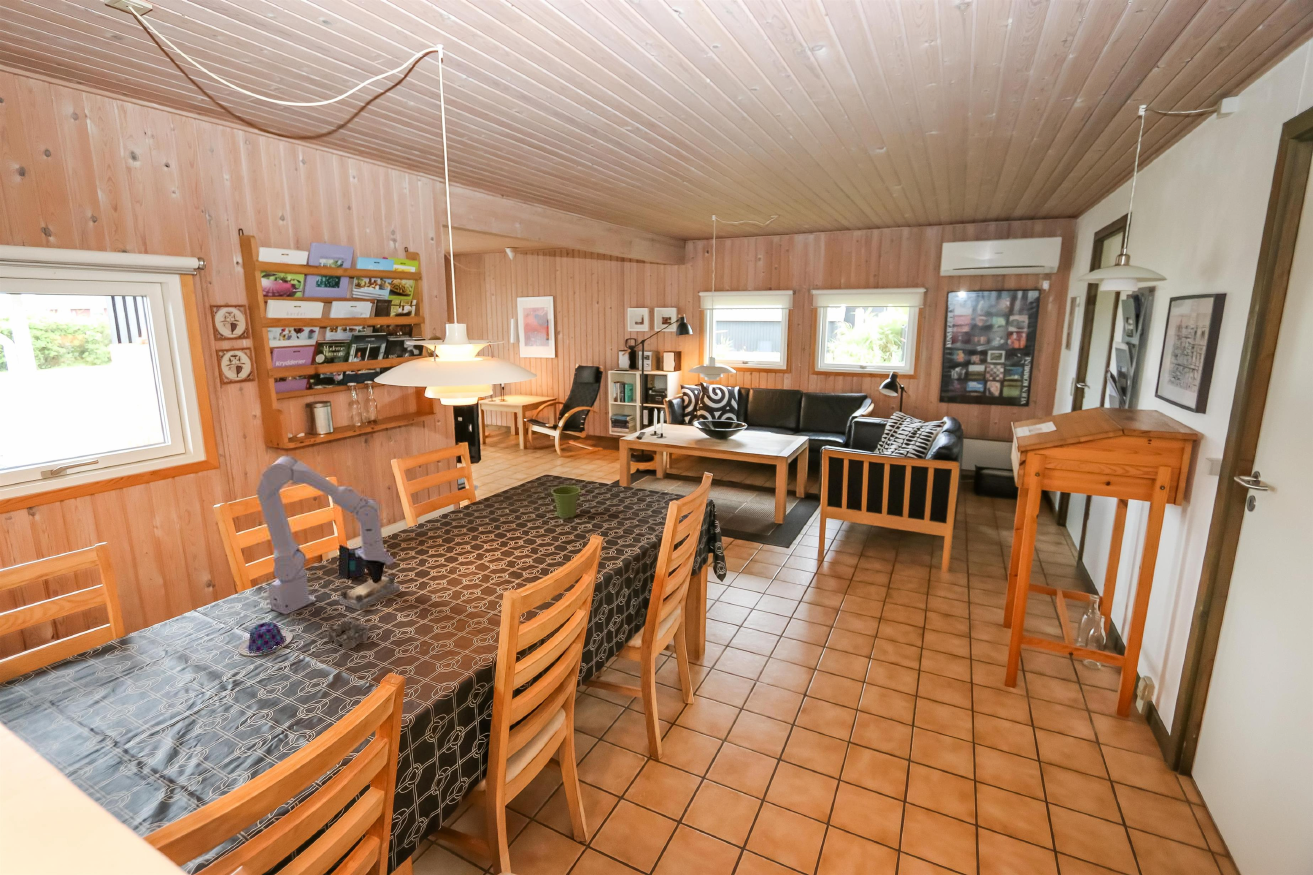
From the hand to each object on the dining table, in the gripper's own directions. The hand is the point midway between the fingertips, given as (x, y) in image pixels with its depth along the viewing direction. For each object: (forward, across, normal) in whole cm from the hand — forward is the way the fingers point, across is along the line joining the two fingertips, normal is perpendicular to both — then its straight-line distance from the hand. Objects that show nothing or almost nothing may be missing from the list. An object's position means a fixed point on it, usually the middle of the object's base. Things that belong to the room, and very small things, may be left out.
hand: (377, 581), depth 185 cm
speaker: (+4, +18, -5) cm, 19 cm away
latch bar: (+1, 0, +3) cm, 3 cm away
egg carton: (+4, -15, +21) cm, 26 cm away
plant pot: (+5, -12, -82) cm, 83 cm away
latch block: (+4, 0, +3) cm, 5 cm away
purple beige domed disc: (+4, +2, +33) cm, 33 cm away
